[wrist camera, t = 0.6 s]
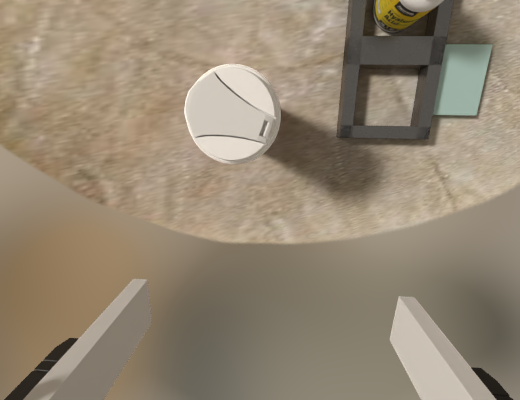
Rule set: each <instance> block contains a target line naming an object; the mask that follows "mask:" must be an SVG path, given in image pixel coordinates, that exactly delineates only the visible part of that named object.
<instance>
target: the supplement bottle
mask: <svg viewBox="0 0 520 400" xmlns="http://www.w3.org/2000/svg"><path fill="white" fill-rule="evenodd" d="M443 1H444V0H375V1H374V5H373V15H374V19H375V22H376V23H377V25H378V26H379V27H380V28H381V29H382V30H384V31H387V32H399V31H402V30H404V29H406V28H407V27H409V26H410V25H411V24H413V23H414V22H416V21H417V20H418V19H420V18H421V17H423V16H424V15H425V14H427V13H428V12H430V11H431V10H432V9H434V8H435V7H437V6H438V5H439V4H440V3H442V2H443Z"/></svg>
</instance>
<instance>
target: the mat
mask: <svg viewBox="0 0 520 400" xmlns="http://www.w3.org/2000/svg"><path fill="white" fill-rule="evenodd" d="M491 49H492V44H446V46H445V51H444V56H443V62H442V67H441V73H440V78H439V84H438V89H437V94H436V100H435V105H434V111H433V115H460V116H475V115H477V111H478V106H479V102H480V97H481V93H482V89H483V84H484V80H485V75H486V71H487V67H488V62H489V58H490V53H491Z"/></svg>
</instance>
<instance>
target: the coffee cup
mask: <svg viewBox="0 0 520 400" xmlns="http://www.w3.org/2000/svg"><path fill="white" fill-rule="evenodd" d="M184 115H185V118H186V121H187V125H188V129H189V132H190V134H191V136H192V138H193V140H194V142H195V143H196V144H197V146H198V147H199V148H200V149H201V150H202V151H203V152H204V153H205V154H206V155H208V156H209V157H211V158H213V159H215V160H217V161H219V162H223V163H227V164H242V163H247V162H250V161H252V160H254V159H256V158H258V157H260V156H261V155H262V154H264V153H265V152H266V151H267V150H268V149H269V148H270V146H271V145H272V143H273V142H274V140H275V138H276V136H277V134H278V131H279V127H280V121H281V109H280V103H279V100H278V97H277V94H276V92H275V90H274V88H273V86H272V85H271V84H270V82H269V81H268V80H267V79H266V78H265V77H264V76H263V75H262V74H260V73H259V72H258V71H256V70H254V69H252V68H250V67H248V66H244V65H240V64H225V65H220V66H217V67H215V68H212V69H210V70H209V71H207V72H206V73H204V74H203V75H202V76H201V77H200V78H199V79H198V80H197V82H196V83H195V84H194V85H193V87H192V88H191V89H190V90H189V92H188V94H187V97H186V101H185V109H184Z"/></svg>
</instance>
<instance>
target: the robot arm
mask: <svg viewBox="0 0 520 400" xmlns="http://www.w3.org/2000/svg"><path fill="white" fill-rule="evenodd" d="M150 324H151V311H150V300H149V290H148V280H143V279H133V280H132V281H131V282H130V283H129V285H127V287H126V288H125V289H124V290H123V291H122V292H121V293H120V294H119V295H118V296H117V298H116V299H115V300H114V301H113V302H112V303H111V304H110V305H109V306H108V307H107V309H105V311H104V312H103V313H102V314H101V315H100V316H99V317H98V318H97V319H96V320H95V322H94V323H93V324H92V325H91V326H90V327H89V328H88V329H87V330H86V332H84V334H83V335H82V336H81V337H80V338H79V339H78V338H77V339H76V338H69V339H68V340H66V341H65V342H63V343H62V344H60V345H59V346H57V347H56V348H55V349H54V350H53V351H52V352H51V353H50V354H49V355H48V356H47V357H46V358H45V359H44V361H42V362H41V363H40V364H39V365H38V366H37V367H36V368H35V370H34V371H32V372H31V373H30V374H29V375H28V376H27V377H26V378H25V379H24V380H23V381H22V382H21V383H20V384H19V385H18V386H17V387H16V388H15V390H13V391H12V392H11V394H9V395H8V396H7V397H6V399H4V400H104V398H105V397H106V395H107V394H108V392H109V390H110V388H111V387H112V386H113V384H114V382H115V380H116V379H117V378H118V376H119V374H120V373H121V371H122V369H123V367H124V366H125V365H126V363H127V361H128V360H129V358H130V357H131V355H132V353H133V352H134V350H135V349H136V347H137V345H138V344H139V342H140V341H141V339H142V337H143V336H144V334H145V332H146V331H147V329H148V328H149V326H150ZM390 341H391V343H392V345H393V347H394V349H395V351H396V353H397V355H398V357H399V358H400V360H401V362H402V364H403V366H404V368H405V370H406V372H407V374H408V376H409V377H410V379H411V381H412V383H413V385H414V387H415V389H416V391H417V392H418V394H419V396H420V398H421V400H513V399H512V398H510V397H509V394H508V393H507V392H506V391H505V390H504V389H503V388H502V386H501V385H500V384H499V383H498V382H497V381H496V380H495V379H494V378H493V377H491V376H490V375H489V374H487V373H486V372H485V371H484V370H483V369H481V368H472V367H470V366H469V365H468V364H467V363H466V361H465V360H464V359H463V357H462V356H461V355H460V354H459V352H458V351H457V350H456V349H455V348H454V346H453V345H452V344H451V342H450V341H449V340H448V339H447V337H446V336H445V335H444V334H443V332H442V331H441V330H440V329H439V327H438V326H437V325H436V324H435V322H434V321H433V320H432V319H431V317H430V316H429V315H428V314H427V312H426V311H425V310H424V309H423V307H422V306H421V305H420V304H419V302H418V301H417V300H416V299H415V298H414V297H406V296H399V298H398V303H397V307H396V312H395V317H394V322H393V326H392V331H391V336H390Z"/></svg>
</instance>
